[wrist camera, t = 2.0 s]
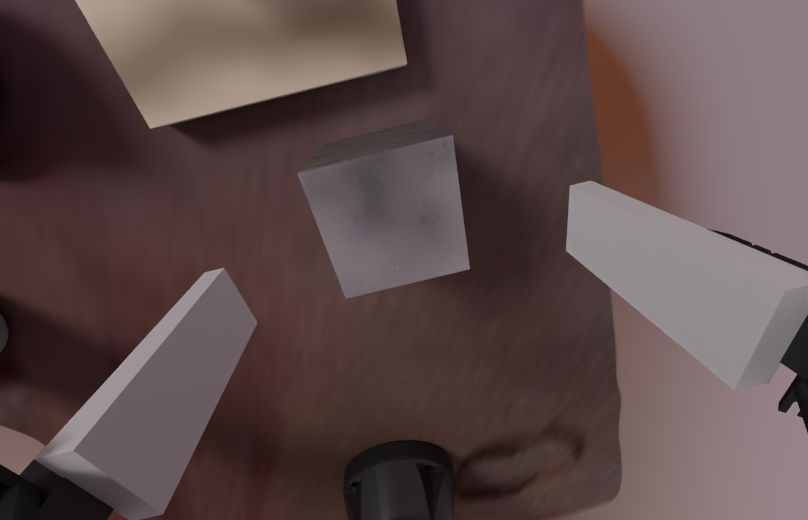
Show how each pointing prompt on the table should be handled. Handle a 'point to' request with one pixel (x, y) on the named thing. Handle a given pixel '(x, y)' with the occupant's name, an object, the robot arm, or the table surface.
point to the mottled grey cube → (388, 207)
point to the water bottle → (3, 333)
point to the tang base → (240, 49)
